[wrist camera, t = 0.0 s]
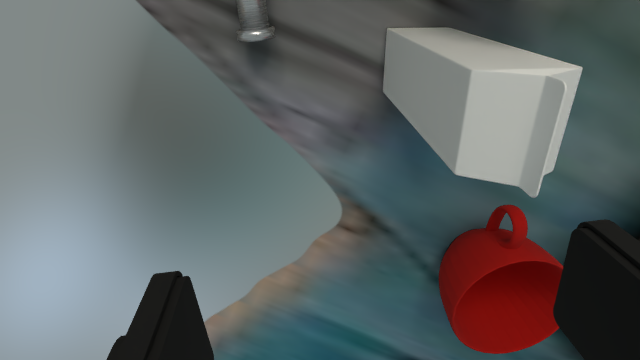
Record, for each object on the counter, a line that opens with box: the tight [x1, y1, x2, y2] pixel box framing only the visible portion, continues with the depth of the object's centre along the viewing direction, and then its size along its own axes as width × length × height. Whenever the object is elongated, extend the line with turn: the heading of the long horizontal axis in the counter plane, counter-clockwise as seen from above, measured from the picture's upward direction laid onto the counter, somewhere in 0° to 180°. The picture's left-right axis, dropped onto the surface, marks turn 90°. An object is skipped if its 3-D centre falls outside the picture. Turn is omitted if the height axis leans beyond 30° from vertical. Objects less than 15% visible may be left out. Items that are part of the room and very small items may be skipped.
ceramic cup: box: [439, 205, 563, 354], centre depth 44 cm, size 13×17×10 cm
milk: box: [383, 27, 582, 197], centre depth 29 cm, size 6×6×22 cm
